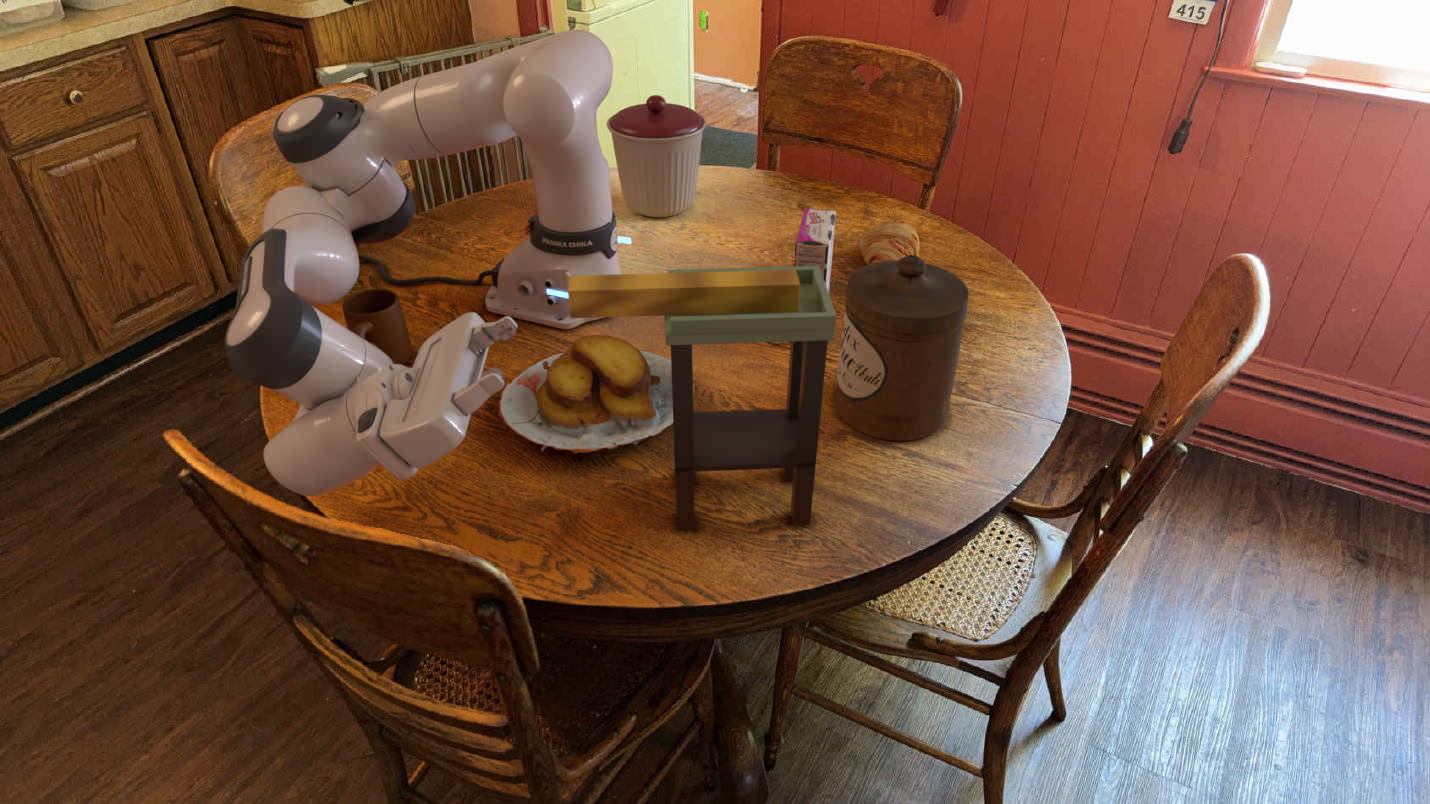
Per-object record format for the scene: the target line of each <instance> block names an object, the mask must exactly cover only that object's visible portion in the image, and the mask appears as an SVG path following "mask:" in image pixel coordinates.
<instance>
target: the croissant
mask: <svg viewBox="0 0 1430 804" xmlns="http://www.w3.org/2000/svg"><path fill="white" fill-rule="evenodd" d="M920 246H921V245H920V238H919V234H918V232H917V231H916V229H915V228H914V227H912V226H911V225H910V224H907V223H906V222H905V221H904V220H899V219H898V220H897V219H895V220H894V221H887V222H881V223H880V224H877V225H875V226H873V227H872V228H870V229H868V230H867V231H866V232H865V233H864V234H863V235H862V236H861V238H860V240H859V250H860V253H862V254H861V255H862V256H861V257H862V260H863V261H864V262H865V265H868V264H871V263H875V262H880V261H888V260H900V259H901V258H903V257H906V256H908V255H915V256H918V257H919V256H920ZM919 258H920V257H919Z"/></svg>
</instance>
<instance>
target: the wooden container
mask: <svg viewBox="0 0 1430 804" xmlns="http://www.w3.org/2000/svg"><path fill="white" fill-rule="evenodd" d="M969 293H970V292H969V288H968V286H967V284H966V283H965V282H964V281H963V280H962V279H961V278H960V277H958V276H957V275H956V274H954V272H950V271H948V270H947V269H944V268H942V267H939V266H937V265H933V264H929V263H926V262H925V261H924V260H923V259H922V258H921V257H918V256H915V255H908V256H906V257H903V258H901V259H900V260H888V261H880V262H875V263H871V264H868V265H867V264H865V265H863V266H861V267H859V268H857V269H856V270H854V271H853V272H852V273H851V274H850V276H849V278H848V279H847V284H846V292H845V303H844V305H845V307H844V309H845V310H844V315H843V323H842V324H843V325H842V333H841V340H840V347H839V355H838V364H837V374H836V387H835V397H834V398H835V399H834V404H835V408H836V412H837V413H838V415H839V417H840V418H841V419H842V420H843V421H844V422H845V423H846V424H847V425H848V426H850V427H851V428H853V429H855V430H856V431H858V432H860V433H862V434H864V435H867V436H870V437H873V438H876V439H882V440H887V441H899V442H900V441H913V440H919V439H922V438H925V437H928V436H931V435H932V434H933V433H936V432H937V431H938V430H940V428H941V427H942V426H943V425H944V424H945V422H946V420H947V417H948V413H949V407H950V404H951V403H950V402H951V397H952V394H953V388H954V384H955V379H956V373H957V367H958V363H959V362H958V361H959V355H960V349H961V344H962V338H963V333H964V326H965V320H966V317H967V312H968V307H969V298H970V294H969Z"/></svg>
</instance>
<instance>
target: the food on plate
mask: <svg viewBox="0 0 1430 804" xmlns="http://www.w3.org/2000/svg"><path fill="white" fill-rule="evenodd" d="M545 362H547V363H548V365H547V367H549V368H548V369H545V368H544V365H543V364H544V363H545ZM695 388H696V387H695V384H694V383H693V402H694V401H695V399H694V395H696V390H695ZM497 408H498V410H497V413H498V418H499V419H501V420H502V422H503V424H504V425H505V426H508V429H509V430H510V431H511V430H513V433H514V434H516V435H518V436H521V437H523V438H524V439H526V440H527V441H531V442H533V443H534V444H536V445H537V444H538V445H542V447H541V451H540V452H543V451H545V449H546V448H547V447H551V448H553V449H555V450H559V451H564V450H567V451H571V452H572V453H574V454H575V455H577V454H578V453H584V454H587V453H591V452H597V451H600V450H603V449H610V450H611V449H612V450H614V449H618V448H619V447H618V446H624V445H628V444H629V445H630V444H632V445H638V444H639V442H642V441H643V440H644V439H647V438H649V436H651V437H654V436H656V435H659V434H661V433H662V432H663V431H664V430H665V429H666V428H667V427H670V426H672V425H673V401H672V371H671V358H666V356H662V355H660V354H657V353H654V352H649V351H647V350H644V349H638V348H637V347H636V346H634V345H633V344H632V343H631V342H629V341H627V340H624V339H621V338H619V337H614V336H612V335H607V334H590V335H585V336H581V337H579V338H577V339H575V340H574V341H573V342H572V345H571V348H570V349H568V350H566V351H565V352H561V353H556V354H552V355H549V356H547V357H546V358H544V359H543V360H541V361H538V362H536V363H535V364H534V365H531V366H529V367H527V369H526V370H524V371H522V372H521V373H520V374H519V375H518V376H516V377H515V378H514V379H512V381H511V382H507V383H506V384H505V385H504V387H503V389H502V391H501V393H500V398H499V400H498V404H497ZM575 459H578V458H577V457H575Z"/></svg>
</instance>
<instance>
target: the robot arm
mask: <svg viewBox="0 0 1430 804" xmlns="http://www.w3.org/2000/svg"><path fill="white" fill-rule="evenodd" d="M613 76H614V61H613V56H612V54H611V51H610V50H609V48H608V46H607V45H606V43H605V42H604V41H603V40H602V39H601V38H600V37H599V36H598V35H596V34H594V33H593V32H590V31H588V30H585V29H569V30H564V31H561V32H558V33H557V32H556V33H554V34H550V35H547V36H545V37H541V38H538V39H535V40H532V41H529V42H526V43H523V44H521V45H517V46H514V47H512V48H509V49H506V50H504V51H500V52H498V53H496V54H492V55H489V56H487V57H485V58H481V59H479V60H476V61H473V62H470V63H466V64H462V65H458V66H454V67H451V68H448V69H443V70H439V71H435V72H432V73H428V74H424V75H420V76H418V77H413V78H410V79H408V80H405V81H402V82H400V83H397V84H395V85H392V86H390V87H388V88H386V89H384V90H382V91H380V92H379V93H376V94H375V95H372V97H370V98H369V99H368V100H367V101H366V103H365V104H364V105H363V104H362V103H361V102H360V101H359V100H357V99H355V98H352V97H340V96H339V97H338V95H337V96H336V95H333V94H332V95H331V94H310V95H307V96H304V97H302V98H299V99H298V100H296V101H294V102H293V103H291V104H289V105H288V106H287V107H285V109H283V110H282V111H281V112H280V113H279V115H278V117H277V118H276V120H275V123H274V126H273V130H272V136H273V139H274V142H275V144H276V146H277V148H278V149H279V151H280V153H281V155H282V156H283V158H284V160H286V162H289V163H290V164H291V165H292V167H293V168H294V170H295V171H296V173H297V174H298V175H299V177H300V178H301V180H302V181H303V182H304V183H305V184H304V185H293V186H288V187H285V188H282V189H280V190H279V191H277V192H276V193H274V194H273V195H272V196H271V197H270V198H269V200H268V201H267V203H266V204H265V208H264V211H263V216H262V222H261V234H260V235H259V236H258V237H257V238H256V239H255V240H254V241H253V242H252V243H251V244H250V245H249V247H248V248H247V250H246V252H245V253H244V256H243V260H242V263H241V268H240V273H239V280H238V287H237V295H236V303H235V309H234V312H233V314H232V317H231V319H230V322H229V324H228V326H227V329H226V332H225V335H224V349H225V354H226V356H227V361H228V363H229V366H230V368H231V370H232V372H233V373H234V374H235V375H237V376H238V377H240V378H242V379H245V380H247V381H250V382H252V383H254V384H257V385H259V386H262V387H264V388H266V389H270V390H272V391H274V392H276V393H278V394H279V395H282V396H284V397H285V398H287V399H290V400H291V401H294V402H295V403H297V404H298V405H299V407H298V409H297V412H296V414H295V416H294V417H293V418H292V421H291V422H290V424H288V425H287V426H285V427H284V428H282V430H280V431H279V432H278V433H276V434H275V435H274V436H273V437H272V438H271V439H270V440H269V441H268V442H267V443H266V444H265V446H264V449H263V453H262V455H263V460H264V464H265V466H266V468H267V470H268V471H269V473H270V475H271V476H272V477H273V478H274V480H275V481H277V483H278V484H279V485H281V486H282V487H284V488H285V489H287V490H289V491H290V492H293V493H296V494H298V495H301V496H303V497H317V496H321V495H322V496H323V495H325V494H328V493H331V492H335V491H337V490H340V489H341V488H344V487H346V486H348V485H350V484H352V483H354V482H356V481H358V480H360V479H362V478H364V477H365V476H368V475H370V473H372V472H374V470H376V468H377V467H378V466H379V465H381V466H382V467H383V468H384V469H385V470H387V471H388V472H389V473H390V474H392V475H393V476H394V477H396V478H397V479H398V480H400V481H405V480H407V479H409V478H412V477H413V476H414V475H416V473H417V472H418V470H419V469H422V468H425V467H427V466H428V465H430V464H433V463H435V462H436V461H438V460H440V459H441V458H443V457H445V456H446V455H448V454H450V453H452V452H453V451H454V450H456V449H457V447H458V446H459V445H460V444H461V443H462V442H463V441H464V439H465V438H466V435H467V431H468V428H469V423H470V420H471V417H472V416H471V415H472V413H474V412H476V411H477V410H478V409H479V408H480V407H482V405H483V404H484V403H485V402H487V400H488V399H489V398H490V397H492V395H494V394H496V393H498V392H499V391H501V390H503V389H504V387H505V382H506V375H505V374H504V373H503V372H502V371H501V369H500V368H499V367H496V366H495V367H494V366H493V367H491V368H489V369H488V370H486V371H484V367H485V363H486V361H487V357H488V353H489V349H490V347H491V346H493V345H494V343H495V342H496V341H499V340H502V341H503V342H506V341H508V340H510V339H511V338H513V337H515V336H516V335H517V330H518V323H516V321H515V320H514V319H519V320H524V321H526V322H531V323H534V324H535V323H536V324H539V325H544V326H547V327H553V328H555V329H556V328H557V329H561V330H571V329H574V328H576V327H578V326H581V325H583V324H585V323H588V322H593V321H598V320H601V319H605V318H606V317H593V318H571V315H570V306H569V297H568V287H569V280H570V276H582V275H619V274H622V271H621V267H620V262H619V257H618V247H619V243H620V244H628V245H631V244H632V237H627V236H619V231H618V225H617V219H616V213H615V212H614V210H613V202H612V201H613V200H612V188H611V175H610V165H609V162H608V160H607V159H606V158H605V156H604V154H603V150H602V147H601V143H600V139H599V136H598V131H597V122H596V121H597V113H598V109H599V107H600V105H601V104H602V103H603V102H604V100H605V99H606V98H607V96H608V95H609V93H610V90H611V87H612V83H613ZM516 136H518V137H519V139H520V141H521V144H522V146H523V148H524V151H525V155H526V157H527V159H528V163H529V167H530V171H531V176H532V181H533V189H534V196H535V203H536V208H535V209H533V212H532V213H533V214H532V216H531V217H530V218H528V219H527V224H526V225H525V226H524V228H523V231H524V236H525V237H526V236H527V235H529V237H527V238H526V239H525V240H524V241H522V242H521V243H519V244H518V245H517V246H516V247H514V248H513V249H512V250H511V251H510V252H509V253H507V255H506V256H505V258H502V259H501V260H499V261H498V262H497V264H495V266H493V268H492V269H489V270H485V271H482V272H480V273H479V275H478V277H477V279H473V280H463V279H458V278H454V277H448V276H424V277H416V278H408V279H397V278H392V277H389V276H388V275H387V274H386V270H385V266H384V264H383V263H382V261H380V260H379V259H377V258H373V257H371V256H367V255H363V254H359V253H358V249H357V245H359V244H377V243H382V242H386V241H387V242H388V241H390V240H392V239H394V238H396V237H398V236H399V235H401V234H403V233H404V231H405V230H407V229H408V227H409V226H410V225H411V223H412V222H413V219H414V217H415V214H416V211H417V205H416V201H415V199H414V196H413V194H412V192H411V190H410V188H409V186H408V184H407V183H406V182H405V181H403V180H402V177H401V175H400V174H399V172H398V171H397V170H396V167H395V165H397V164H399V163H400V162H402V161H419V160H430V159H436V158H442V157H447V156H452V155H456V154H460V153H464V152H468V151H469V152H470V151H473V150H477V149H482V148H486V147H491V146H495V145H498V144H501V143H503V142H506V141H507V140H510V139H512V138H514V137H516ZM360 261H364V262H367V263H370V264H374V265H376V266H377V267H378V270H379V275H380V278H381V279H382V280H383V281H384V282H387V283H388V284H392V285H398V286H399V285H401V286H404V285H405V286H406V285H415V284H423V283H433V282H434V283H435V282H436V283H437V282H438V283H439V282H440V283H448V284H453V285H461V286H477V285H480V284H482V283H483V281H484V279H485V277H488V276H490V277H491V283H492V285H491V286H490V288H489V289H488V291H487V293H486V296H485V309H486V311H487V312H489V313H493V314H497V315H502V316H504V317H502V318H500V319H498V320H497V321H491V322H490V321H489V322H485V320H484V319H482V317H481V316H480V315H479V314H478V313H477V312H473V311H470V312H469V311H468V312H466V313H463V314H461V315H460V316H459V317H457V318H455V319H454V320H452V321H451V322H449V323H447V324H446V325H445V326H443V327H442V328H439V330H437V331H436V332H434V333H432V335H430V336H429V337H428V338H427V339H426V340H424V342H423V343H422V345H421V346H420V347H419V349H418V352H417V354H416V357H415V360H414V362H413V365H412V367H408V366H406V365H404V364H403V365H400V364H394V362H393V360H392V359H391V358H390V357H389V356H387V355H386V354H385V353H384V352H382V351H381V350H380V349H378V348H377V347H375V346H374V345H372V344H371V343H369V342H368V341H366V340H365V339H363V338H361V337H360V336H358V335H356V334H354V333H353V332H351V331H350V330H348V327H345V326H344V325H342V324H341V323H339V322H338V321H336V320H334V318H333V319H332V318H331V317H330V316H328V315H326V314H325V313H324V312H322V311H321V310H319V309H317V307H318V308H319V307H322V306H327V305H330V304H333V303H336V302H338V301H339V300H340V299H342V298H344V297H345V296H346V295H347V294H349V292H350V291H351V290H352V289H353V288H354V286H355V285H356V283H357V281H358V278H359V274H360ZM513 318H514V319H513ZM483 371H484V372H483Z"/></svg>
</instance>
